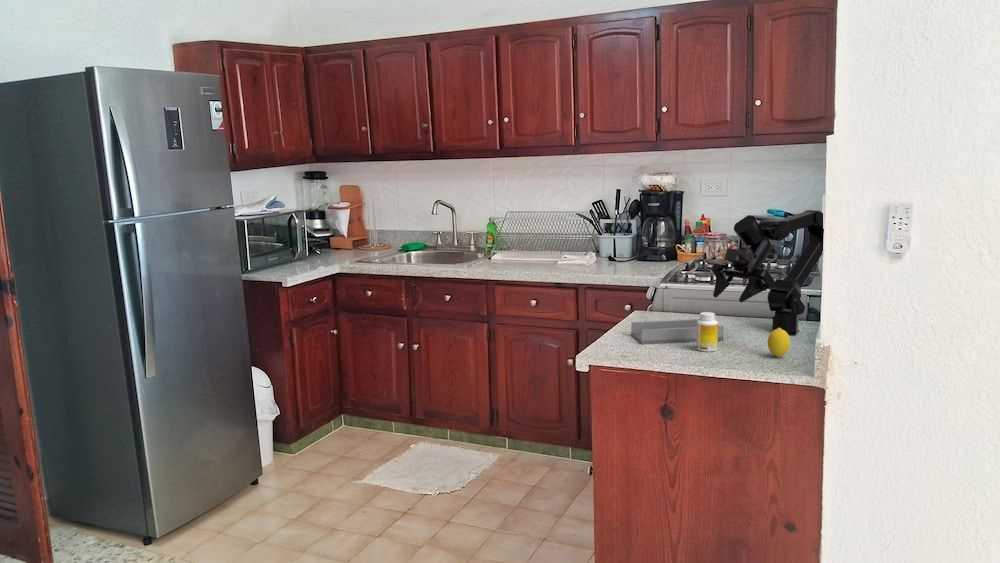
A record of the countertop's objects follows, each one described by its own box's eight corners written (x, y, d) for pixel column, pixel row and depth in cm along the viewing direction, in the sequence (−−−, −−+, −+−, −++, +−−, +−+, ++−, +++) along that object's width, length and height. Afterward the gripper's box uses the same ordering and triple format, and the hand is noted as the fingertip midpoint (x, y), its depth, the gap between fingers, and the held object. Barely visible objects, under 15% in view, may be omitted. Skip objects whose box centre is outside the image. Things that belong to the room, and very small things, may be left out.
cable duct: (708, 331, 238) (709, 318, 237) (723, 340, 226) (723, 326, 226) (631, 335, 235) (631, 322, 235) (641, 344, 224) (641, 330, 224)
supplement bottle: (721, 351, 215) (722, 314, 213) (704, 353, 213) (704, 316, 211) (709, 346, 220) (710, 310, 218) (692, 348, 218) (692, 312, 216)
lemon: (763, 355, 209) (764, 326, 208) (783, 354, 209) (784, 325, 208) (772, 360, 204) (773, 330, 202) (793, 359, 204) (794, 329, 203)
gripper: (715, 235, 226) (687, 277, 222) (769, 240, 211) (739, 285, 206) (734, 259, 232) (706, 301, 227) (787, 266, 216) (759, 310, 212)
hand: (726, 299), depth 218 cm, fingers open, 9 cm apart
